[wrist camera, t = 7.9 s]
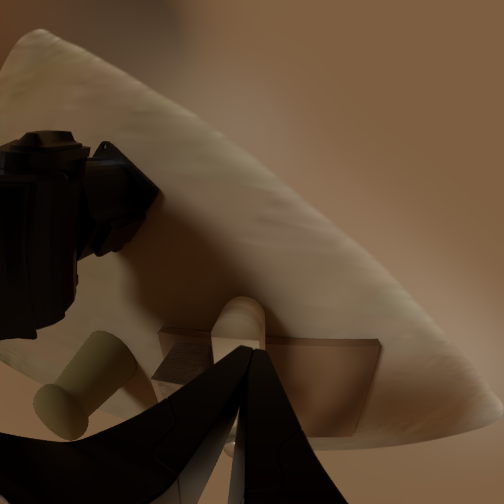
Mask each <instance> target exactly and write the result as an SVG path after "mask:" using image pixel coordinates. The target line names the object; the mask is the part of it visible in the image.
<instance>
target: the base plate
mask: <svg viewBox="0 0 504 504" xmlns="http://www.w3.org/2000/svg"><path fill="white" fill-rule="evenodd" d="M158 334H159V339H160V344H161V349H162V354H163V358H165V357H166V355H167V354H168V353H169V351H170V350H171V348H172V347H173V345H174V344H175V342H183V343H193V344H203V345H211V348H212V339H211V332H206V331H197V330H188V329H180V328H172V327H165V326H163V327H162V328H161V329H160V331H159V332H158ZM379 349H380V344H379V341H378V339H305V338H282V337H265V350H267V351H268V352H269V355H270V357H271V359H272V362H273V364H274V366H275V368H276V371H277V373H278V375H279V378H280V380H281V382H282V384H283V387H284V389H285V391H286V393H287V396H288V398H289V400H290V402H291V405H292V407H293V409H294V411H295V414H296V416H297V418H298V420H299V422H300V425H301V427H302V430H303V431H304V433H305V435H306V437H351V436H353V433H354V430H355V428H356V425H357V422H358V419H359V416H360V414H361V411H362V408H363V405H364V402H365V399H366V395H367V392H368V389H369V386H370V382H371V379H372V376H373V372H374V368H375V365H376V361H377V357H378V353H379ZM212 355H213V348H212ZM213 361H214V357H213Z"/></svg>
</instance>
